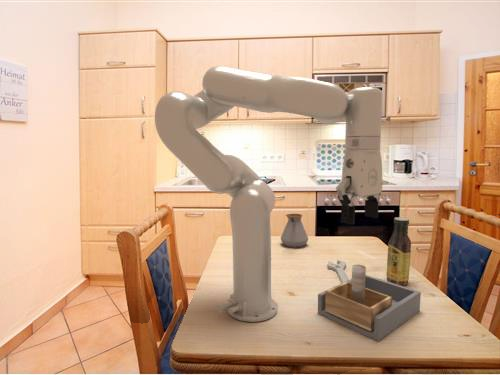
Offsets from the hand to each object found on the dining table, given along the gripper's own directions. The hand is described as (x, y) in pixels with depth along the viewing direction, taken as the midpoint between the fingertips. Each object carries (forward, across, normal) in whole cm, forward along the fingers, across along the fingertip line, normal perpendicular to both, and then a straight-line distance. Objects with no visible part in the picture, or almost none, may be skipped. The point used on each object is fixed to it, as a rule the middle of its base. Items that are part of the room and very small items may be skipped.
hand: (359, 220), depth 77 cm
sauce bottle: (+24, +28, +4) cm, 37 cm away
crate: (+23, 0, 0) cm, 23 cm away
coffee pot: (+24, +30, +48) cm, 62 cm away
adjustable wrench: (+25, +19, +18) cm, 36 cm away
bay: (+24, +5, 0) cm, 25 cm away
